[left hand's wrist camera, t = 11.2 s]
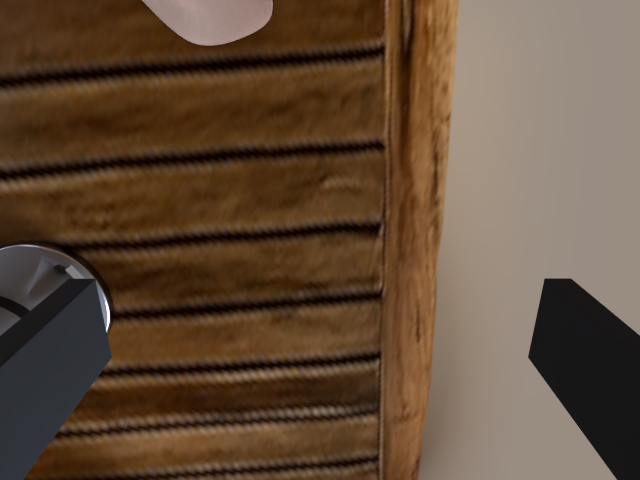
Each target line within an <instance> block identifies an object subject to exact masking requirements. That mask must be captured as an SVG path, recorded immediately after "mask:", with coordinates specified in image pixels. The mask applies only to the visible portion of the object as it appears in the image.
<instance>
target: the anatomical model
mask: <svg viewBox="0 0 640 480" xmlns="http://www.w3.org/2000/svg"><path fill="white" fill-rule="evenodd" d="M142 1H143V2H144V3H145V4H146V5H147V6H148V7H149V8H150V9H151V10H152V11H153V12H154V13H155V14H156V15H157V16H158V17H159V18H160V19H161V20H162V21H163V22H164V23H165V24H166V25H167V26H168V27H170V28H171V29H172V30H173V31H175V32H176V33H177V34H178V35H180V36H181V37H183V38H184V39H186V40H188V41H190V42H192V43H195V44H198V45H210V46H211V45H220V44H224V43H228V42H232V41H235V40H238V39H240V38H243V37H245V36H247V35H250V34H252V33H253V32H255V31H257V30H259V29H260V28H262V27H263V26H264V25H265V24H266V23H267V22H268V21H269V19H270V17H271V15H272V9H273V0H142Z"/></svg>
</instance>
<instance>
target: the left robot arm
mask: <svg viewBox="0 0 640 480" xmlns="http://www.w3.org/2000/svg"><path fill="white" fill-rule="evenodd" d="M113 317H114V307H113V301H112V297H111V294H110V292H109V289H108V287H107V285H106V283H105V282H104V280H103V279H102V277H101V276H100V275H99V273H98V272H97V271H96V270H95V269H94V268H93V267H92V266H91V265H90V264H89V263H88V262H87V261H85V260H84V259H83V258H81V257H80V256H78V255H77V254H75V253H73V252H72V251H70V250H68V249H65V248H63V247H61V246H58V245H55V244H51V243H47V242H41V241H21V242H15V243H12V244H9V245H6V246H4V247H2V248H0V480H23V479H24V477H25V476H26V475H27V473H28V472H29V471H30V469H31V468H32V466H33V465H34V464H35V462H36V461H37V460H38V458H39V457H40V455H41V454H42V453H43V451H44V450H45V449H46V447H47V446H48V444H49V443H50V442H51V440H52V439H53V438H54V436H55V435H56V433H57V432H58V431H59V429H60V428H61V427H62V425H63V424H64V422H65V421H66V420H67V418H68V417H69V415H70V414H71V413H72V411H73V410H74V409H75V407H76V406H77V404H78V403H79V402H80V400H81V399H82V398H83V396H84V395H85V393H86V392H87V391H88V389H89V388H90V387H91V385H92V384H93V382H94V381H95V380H96V378H97V377H98V376H99V374H100V373H101V371H102V370H103V369H104V367H105V366H106V365H107V363H108V362H109V360H110V359H111V358H112V356H111V351H110V346H109V342H108V337H107V335H108V333H109V331H110V329H111V326H112V323H113ZM528 358H529V359H530V360H531V362H532V363H533V364H534V366H535V367H536V369H537V370H538V371H539V373H540V374H541V376H542V377H543V378H544V380H545V381H546V382H547V384H548V385H549V387H550V388H551V389H552V391H553V392H554V393H555V395H556V396H557V398H558V399H559V400H560V402H561V403H562V404H563V406H564V407H565V409H566V410H567V411H568V413H569V414H570V415H571V417H572V418H573V420H574V421H575V422H576V424H577V425H578V427H579V428H580V429H581V431H582V432H583V433H584V435H585V436H586V437H587V439H588V440H589V442H590V443H591V444H592V446H593V447H594V448H595V450H596V451H597V453H598V454H599V455H600V457H601V458H602V460H603V461H604V462H605V464H606V465H607V466H608V468H609V469H610V471H611V472H612V473H613V475H614V476H615V477H616V479H617V480H640V335H638V334H637V333H636V332H635V331H633V330H632V329H631V328H630V327H629V326H627V325H626V324H625V323H624V322H623V321H621V320H620V319H619V318H618V317H617V316H615V315H614V314H613V313H612V312H611V311H609V310H608V309H607V308H606V307H605V306H603V305H602V304H601V303H600V302H599V301H597V300H596V299H595V298H594V297H592V296H591V295H590V294H589V293H588V292H586V291H585V290H584V289H583V288H582V287H580V286H579V285H578V284H577V283H576V282H574V281H573V280H572V279H545V280H544V285H543V289H542V294H541V299H540V304H539V308H538V313H537V318H536V323H535V327H534V332H533V337H532V342H531V346H530V351H529V356H528Z"/></svg>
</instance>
